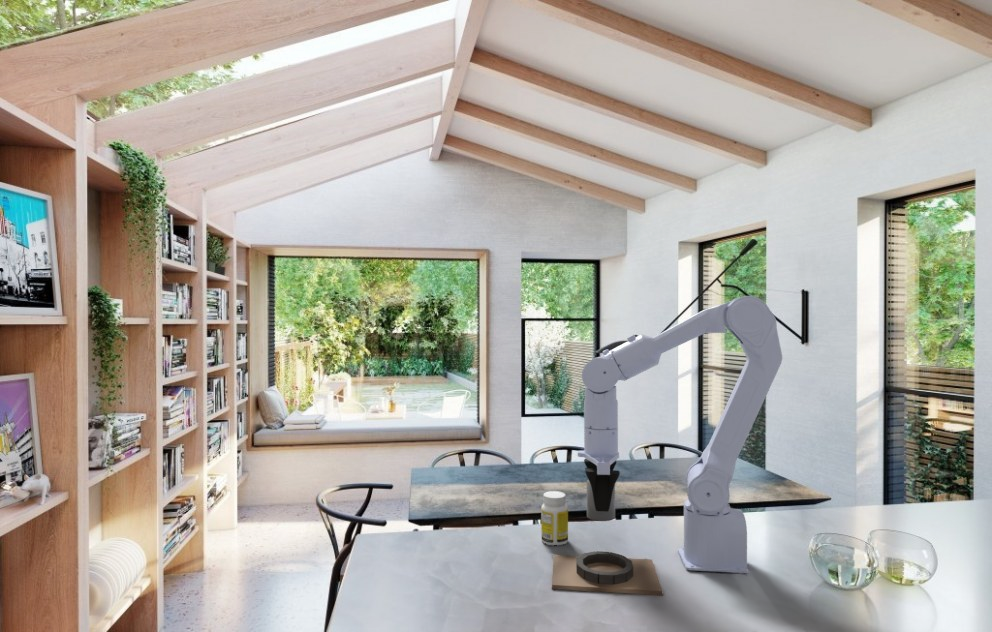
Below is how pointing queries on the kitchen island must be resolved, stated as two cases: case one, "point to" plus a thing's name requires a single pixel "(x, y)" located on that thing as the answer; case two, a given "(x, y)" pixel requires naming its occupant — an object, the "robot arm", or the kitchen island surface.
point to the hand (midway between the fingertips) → (601, 505)
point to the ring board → (605, 573)
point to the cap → (599, 514)
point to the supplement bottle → (554, 518)
